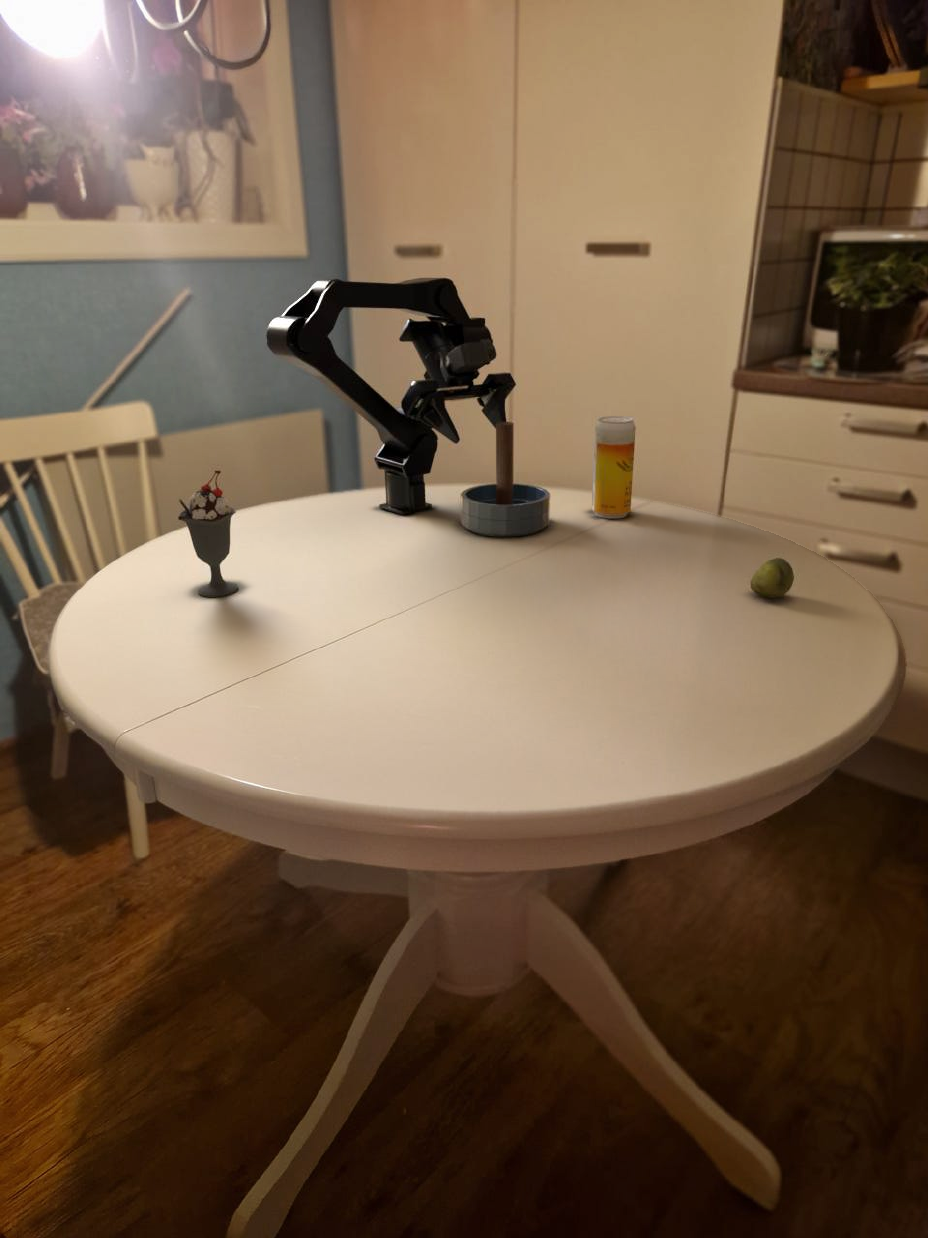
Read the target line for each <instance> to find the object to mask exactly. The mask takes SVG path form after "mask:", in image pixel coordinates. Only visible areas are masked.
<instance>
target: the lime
mask: <svg viewBox="0 0 928 1238" xmlns="http://www.w3.org/2000/svg"><path fill="white" fill-rule="evenodd" d="M794 580H795V575H794V569H793V567H792V565H791V564H790V562H788V561H787V560H786V559H783V558H781V557H776V558H772V559H769V560H767V561H766V562H765V563H764V564H763V565H761V566H759V568H758V569H757V570H756V571H755V572H754V574H753V575H752V578H751V580H750V589H751V591H752V592H753V593H755V594H756V595H758V596H760V597H762V598H765V599H774V598H779V597H782V596H784V595H786V594H787V593H788V592H789V591H790V590H791V589H792V587H793V584H794Z"/></svg>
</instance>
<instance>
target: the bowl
mask: <svg viewBox="0 0 928 1238" xmlns="http://www.w3.org/2000/svg"><path fill="white" fill-rule="evenodd" d="M550 507H551V493H550V492H549V490H547V489H545V488H543V487H541V486H537V485H532V484H526V483H516V482H513V504H508V505H503V504H496V483H487V484H480V485H476V486H472V487H468V488H466V489H464V490H463V491H462V492H461V493H460V523H461V525H462V526H463V528H466V529H467V530H469V531H471V532H473V533H475V534H478V535H482V536H486V537H487V536H489V537H498V538H510V537H522V536H527V535H532V534H535V533H537V532H539V531H542V530H543V529H545V528H547V526H549V524H550V513H551V512H550V511H551V509H550Z"/></svg>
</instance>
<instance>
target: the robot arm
mask: <svg viewBox="0 0 928 1238" xmlns="http://www.w3.org/2000/svg"><path fill="white" fill-rule="evenodd" d="M345 308H350V309H354V308H355V309H390V310H391V309H393V310H398V311H402V312H404V313H407V314H410V315H411V314H412V315H415V316H419V317H425V318H426V319H427V320H414V319H411V318H408V319H407V321H406V322H405V324H404V326H403V330H402V333H400V336H399V338H398V340H399V342H400V343H401V342H402V343H407V342H408V343H409V342H410V343H412V345H413V347H414V349H415V351H416V353H417V355H418V357H419V358H420V360H421V363H422V365H423V367H424V369H425V372H424V374H423V378H424V379H418V380H417V379H416V380H412V382H411V383H410V385H409V386H408V388H407V390H406V392H405V394H404V396H403V397H402V399H401V401H400V405H401V406H400V407H396V408H395V406H393V405H392V404H391V403H390V402H389V401H388V400H387V399H386V398H384V397H383V396H382V395H381V394H380V393H379V391H376V390H375V388H373V386H372V385H370V384H369V383H368V382H367V381H366V380H365V379H364V378H362V377H361V375H359V374H358V373H357V372H356V371H355V370H353V368H351V367H350V366H349V365H348V364H347V363H346V362H345V361H344V360H343V359H342V358H340V357H339V355H338V354H337V351H336V349H335V347H334V344H333V342H332V340H331V339H330V337H329V335H330V334H331V332H332V331H333V330H334V328H335V326H336V324H337V321H338V318H339V316H340V314H341V312H342V311H343V310H344V309H345ZM265 335H266V336H265V337H266V345H267V348H268V349H269V350H270V352H271V353H272V354H274V355H275V356H276V357H278V358H280V359H282V360H283V361H285V362H287V363H289V364H290V365H292V366H295V367H296V368H298V369H300V370H303V371H305V372H307V373H309V374H311V375H313V376H315V377H316V378H317V379H318V380H319V381H320V382H321V383H322V384H323V385H324V386H326V387H327V388H328V389H329V390H330V391H332V392H333V393H334V394H335V395H336V396H337V397H339V398H340V399H341V400H342V401H343V402H345V403H346V404H347V405H348V406H349V407H350V408H351V409H352V410H354V411H355V412H356V413H357V414H359V415H360V417H361V418H363V419H364V420H365V421H367V422H368V423H369V424H370V426H372V427H374V429H375V430H376V432H377V435H378V437H379V439H380V441H381V442H382V446H381V447H380V449H379V450H378V451H377V453H376V454H375V455H374V458H373V459H374V463H375V465H376V468H377V469H378V470H383V471H384V485H385V486H384V488H385V502H383V503H379V505H378V508H379V509H382V510H385V511H388V512H392V513H395V514H400V515H408V514H411V513H415V512H419V511H422V510H426V509H430V508H433V504H432V503H430V502H426V501H427V500H426V482H425V476H424V475H428V474H429V475H430V474H431V472H432V468H433V465H434V464H433V463H434V459H435V457H436V455H435V454H436V453H437V450H438V441H439V437H438V434H437V433H436V432H438V433H439V434H440V435H442V436H443V437H445V438H446V439H448V440H449V441H450V442H452V443H453V444H455V445H457V444H458V443H460V440H461V438H460V435H459V433H458V430H457V428H456V426H455V424H454V422H453V420H452V418H451V416H450V414H449V412H448V410H447V407H446V402H447V401H449V402H456V401H457V402H459V401H466V400H475V399H476V401H477V403H478V405H479V406H480V407H482V408H481V412H482V414H483V415H484V416H485V418H486V419H487V420H488V421H489V422H490V424H491V425H492V426H493V427H494V429H495V430H496V423H498V422H508V421H507V415H506V400H507V398H508V397H509V395H510V394H511V393H512V391H513V390H514V388H515V387H516V386H517V383H516V381H515V379H514V378H513V375H512V374H511V373H510V372H506V371H504V372H496V373H494V372H493V373H487V376H486V377H485V379H484V380H483V381H482V383H480V384H479V383H478V384H475V383H474V382H475V381H474V380H476V379H478V377H479V376H480V371H479V370H480V369H482V368H483V367H485V366H489V365H490V364H491V362H492V361H494V360H495V359H496V358H497V351H496V348H495V345H494V339H493V337H492V334H491V330H490V329H489V328H488V327H487V326H486V318H485V317H478V316H477V317H470V316H469V314H468V312H467V310H466V307H465V306H464V304H463V301H462V299H461V298H460V296H459V292H458V288H457V286H456V284H455V282H454V281H453V280H452V279H451V278H447V277H417V278H411V279H406V280H402V281H400V282H395V283H394V282H370V281H368V282H367V281H348V280H341V279H339V278H321V279H318V280H317V281H315V283H313V285H312V286H311V287H310V288H309V289H308V290H307V292H306V293H305V294H303V295H302V296H301V297H300V298H298V299H297V300H296V301H295V302H294V303H292V304H291V305H290V306H289V307H288V308H287V309H286V310H285V311H284V312H283V314H281V315H280V316H277V317H275V318H273V319H272V320H271V322H270V323H269V324H268V326H267V329H266V334H265ZM434 430H435V431H436V432H435V431H434Z"/></svg>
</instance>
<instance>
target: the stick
mask: <svg viewBox="0 0 928 1238" xmlns="http://www.w3.org/2000/svg"><path fill="white" fill-rule="evenodd" d="M514 425H515V424H514V422H513V421H507V422H498V423H496V429H495V484H496V504H503V505H508V504H513V483H514V447H515V446H514V445H515V444H514V442H515V441H514V440H515V439H514V435H515V433H514V431H515V430H514V429H515V427H514Z"/></svg>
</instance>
